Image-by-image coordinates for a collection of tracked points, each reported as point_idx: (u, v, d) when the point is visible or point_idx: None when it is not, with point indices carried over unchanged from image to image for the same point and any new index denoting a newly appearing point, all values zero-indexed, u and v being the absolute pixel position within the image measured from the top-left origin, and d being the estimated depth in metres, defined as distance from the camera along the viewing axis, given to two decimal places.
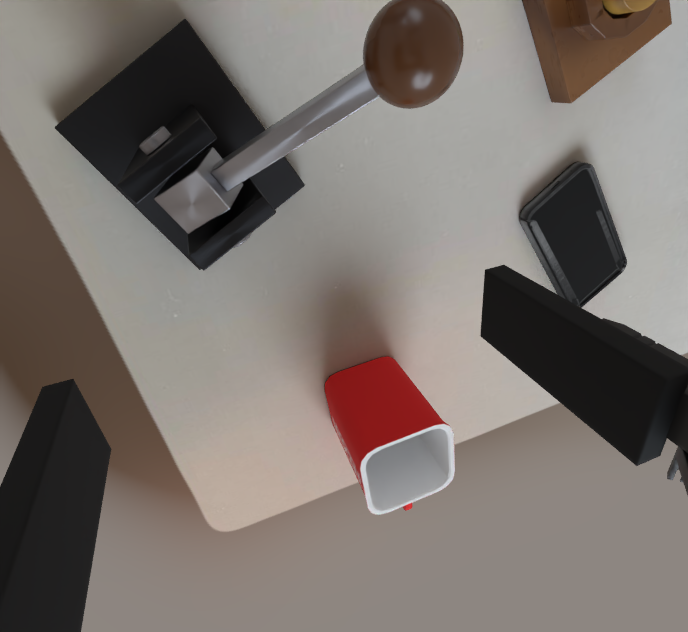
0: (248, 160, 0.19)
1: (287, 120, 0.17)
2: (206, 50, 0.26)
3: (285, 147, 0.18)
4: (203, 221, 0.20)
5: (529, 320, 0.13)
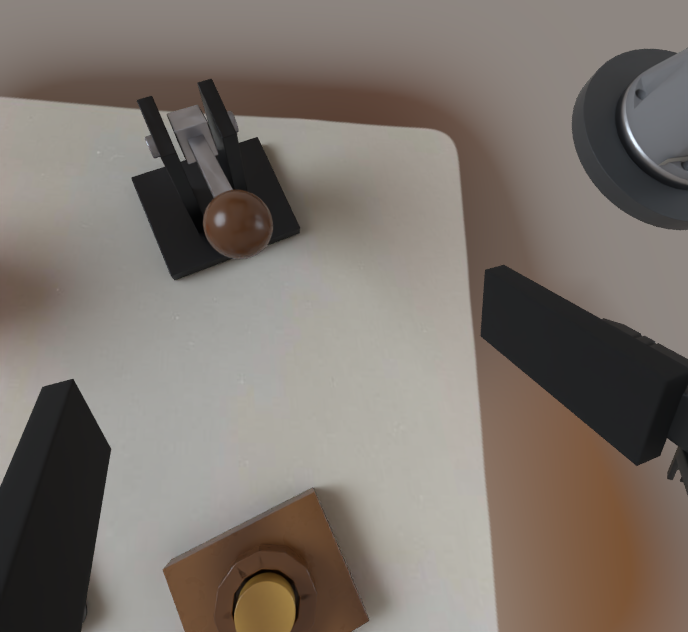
0: (203, 149, 0.27)
1: (220, 167, 0.26)
2: (280, 234, 0.39)
3: (203, 164, 0.26)
4: (172, 120, 0.28)
5: (529, 320, 0.13)
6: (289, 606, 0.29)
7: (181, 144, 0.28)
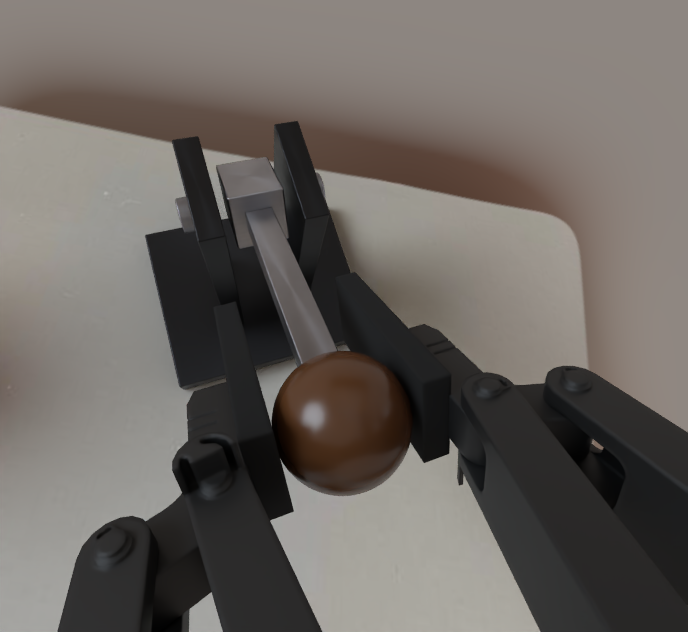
0: (272, 236, 0.16)
1: (303, 276, 0.14)
2: None
3: (273, 267, 0.15)
4: (224, 177, 0.17)
5: (360, 325, 0.14)
6: None
7: (234, 219, 0.17)
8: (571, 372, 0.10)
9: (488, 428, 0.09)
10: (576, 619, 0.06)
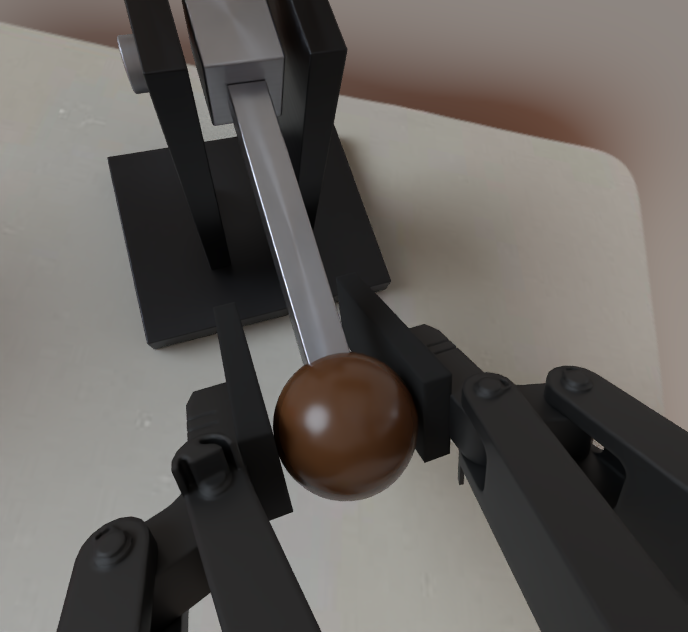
0: (268, 141, 0.12)
1: (308, 221, 0.11)
2: None
3: (271, 202, 0.11)
4: (194, 14, 0.11)
5: (361, 325, 0.14)
6: None
7: (210, 92, 0.12)
8: (572, 372, 0.10)
9: (489, 428, 0.09)
10: (576, 619, 0.06)
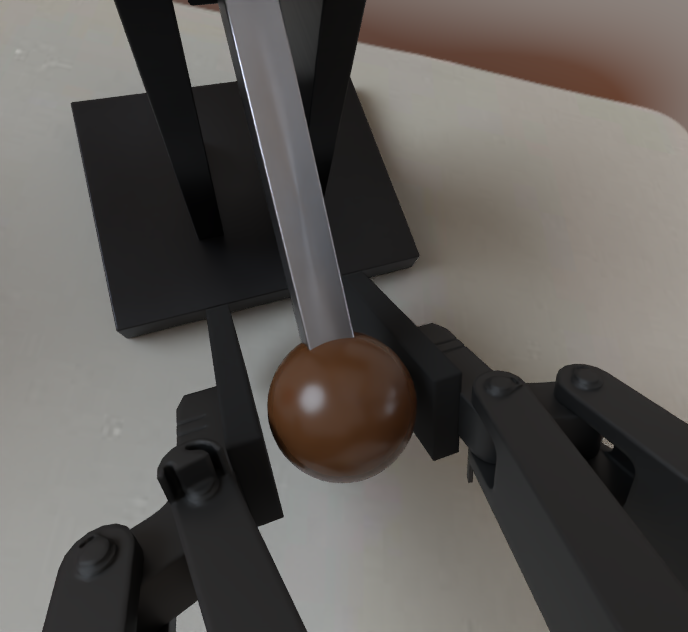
0: (270, 57, 0.09)
1: (317, 176, 0.09)
2: (379, 263, 0.18)
3: (273, 149, 0.09)
4: None
5: (368, 324, 0.14)
6: None
7: None
8: (583, 370, 0.10)
9: (499, 425, 0.09)
10: (585, 615, 0.06)
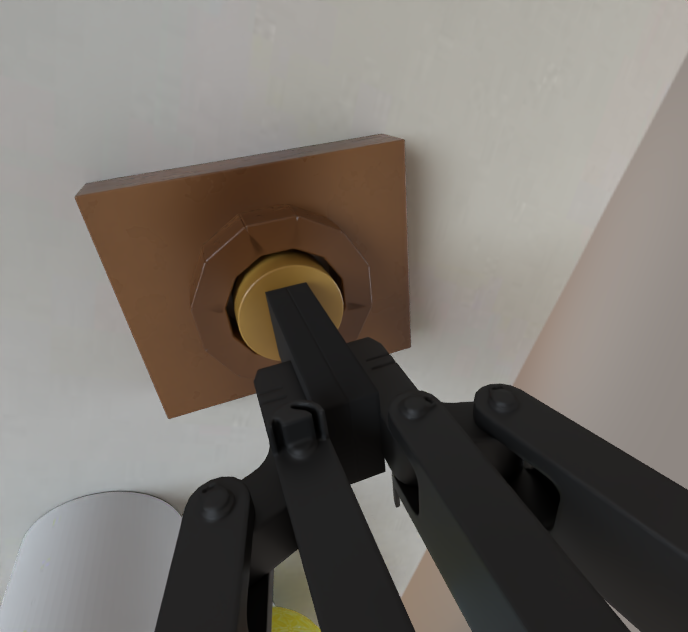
0: None
1: None
2: None
3: None
4: None
5: None
6: (335, 311, 0.17)
7: None
8: (498, 391, 0.10)
9: (417, 452, 0.08)
10: None
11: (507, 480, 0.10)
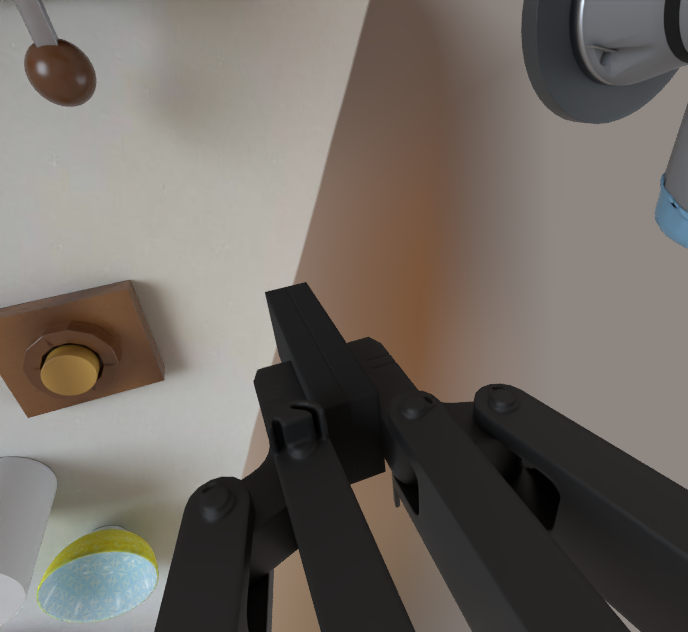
0: None
1: None
2: None
3: None
4: None
5: None
6: (91, 373, 0.36)
7: None
8: (498, 391, 0.10)
9: (417, 452, 0.08)
10: None
11: (507, 480, 0.10)
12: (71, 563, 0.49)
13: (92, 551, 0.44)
